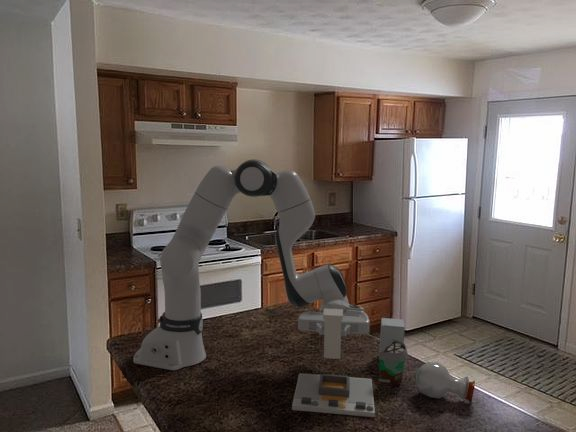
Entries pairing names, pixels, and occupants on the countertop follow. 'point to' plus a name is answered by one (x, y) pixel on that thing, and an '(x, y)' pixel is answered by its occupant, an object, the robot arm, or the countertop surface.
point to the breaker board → (334, 395)
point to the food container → (392, 363)
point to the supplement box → (391, 332)
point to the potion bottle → (442, 382)
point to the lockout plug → (332, 333)
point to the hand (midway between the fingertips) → (332, 333)
